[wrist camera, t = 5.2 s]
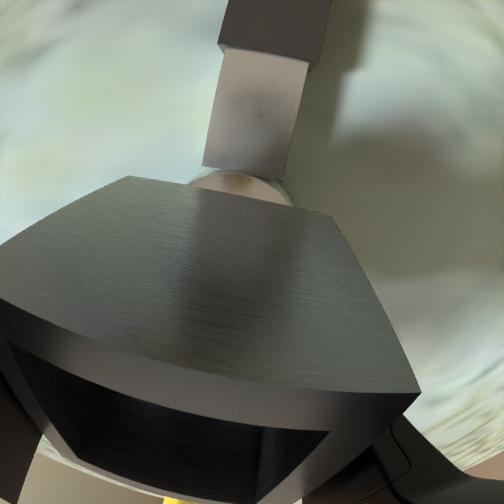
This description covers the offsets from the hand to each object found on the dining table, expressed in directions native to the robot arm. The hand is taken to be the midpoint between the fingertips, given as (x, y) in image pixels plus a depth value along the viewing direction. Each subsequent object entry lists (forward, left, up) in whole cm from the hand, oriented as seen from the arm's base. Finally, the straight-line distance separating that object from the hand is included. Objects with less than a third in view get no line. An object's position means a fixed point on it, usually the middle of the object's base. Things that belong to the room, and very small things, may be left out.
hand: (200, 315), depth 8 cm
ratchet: (+5, 0, -7) cm, 9 cm away
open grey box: (0, 0, -2) cm, 2 cm away
